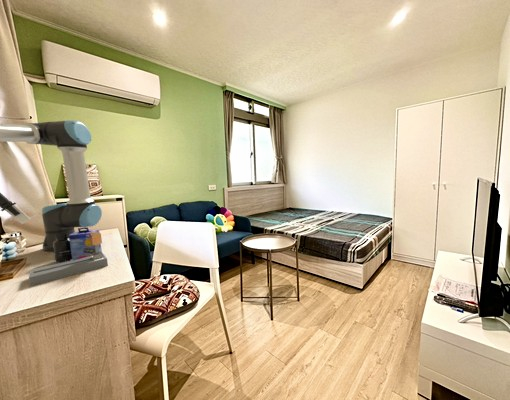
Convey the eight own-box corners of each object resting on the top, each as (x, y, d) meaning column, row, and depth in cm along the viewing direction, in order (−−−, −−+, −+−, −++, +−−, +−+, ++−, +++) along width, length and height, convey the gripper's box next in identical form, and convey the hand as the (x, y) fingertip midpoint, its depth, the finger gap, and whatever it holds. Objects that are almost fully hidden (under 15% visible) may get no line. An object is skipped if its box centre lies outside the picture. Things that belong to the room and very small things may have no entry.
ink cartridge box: (71, 263, 92) (67, 229, 91) (76, 258, 98) (72, 227, 96) (99, 258, 96) (95, 226, 95) (102, 254, 101) (98, 224, 100)
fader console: (30, 286, 73) (28, 277, 72) (31, 277, 79) (30, 269, 79) (107, 265, 88) (106, 258, 88) (103, 260, 94) (102, 253, 94)
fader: (94, 259, 86) (91, 235, 85) (92, 255, 90) (89, 232, 89) (103, 257, 88) (100, 233, 87) (101, 253, 92) (98, 231, 91)
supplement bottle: (63, 263, 92) (60, 235, 91) (51, 262, 94) (47, 235, 93) (79, 257, 99) (76, 231, 98) (67, 256, 101) (64, 231, 99)
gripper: (-53, 172, 69) (15, 226, 80) (-65, 169, 60) (13, 231, 71) (-23, 160, 73) (37, 213, 84) (-30, 156, 64) (38, 216, 75)
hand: (26, 221), depth 77 cm, fingers closed
